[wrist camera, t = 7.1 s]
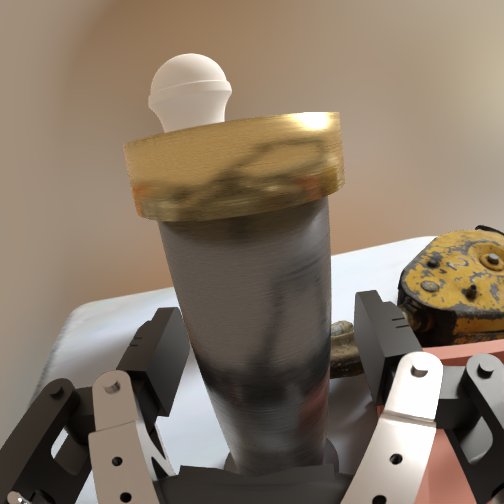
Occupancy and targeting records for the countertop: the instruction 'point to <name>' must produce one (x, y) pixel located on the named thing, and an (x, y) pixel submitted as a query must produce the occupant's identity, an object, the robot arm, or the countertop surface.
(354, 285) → the countertop surface
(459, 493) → the keeper bracket
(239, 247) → the tie-down post
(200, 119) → the white square bottle
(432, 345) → the pulley block
